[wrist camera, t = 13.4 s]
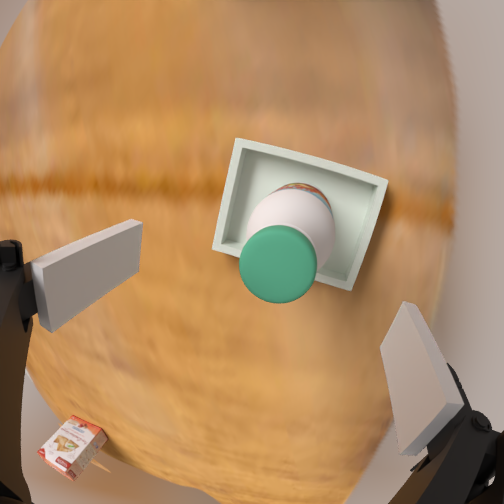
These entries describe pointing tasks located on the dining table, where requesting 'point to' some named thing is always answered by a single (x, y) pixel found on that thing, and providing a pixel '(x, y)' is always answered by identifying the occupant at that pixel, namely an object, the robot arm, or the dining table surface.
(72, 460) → the cracker box
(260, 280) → the milk bottle
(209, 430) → the dining table surface
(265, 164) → the tray
